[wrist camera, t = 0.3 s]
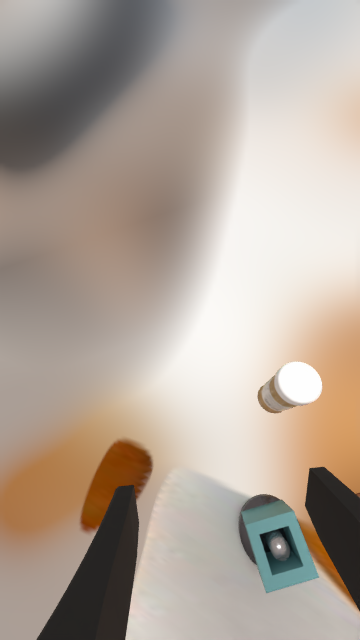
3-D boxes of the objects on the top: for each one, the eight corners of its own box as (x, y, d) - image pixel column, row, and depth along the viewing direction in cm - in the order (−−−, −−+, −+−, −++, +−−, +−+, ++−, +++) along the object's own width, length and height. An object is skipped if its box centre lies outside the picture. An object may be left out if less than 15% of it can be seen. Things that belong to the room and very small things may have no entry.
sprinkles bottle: (293, 404, 37) (333, 389, 25) (268, 419, 36) (297, 412, 24) (274, 378, 39) (303, 353, 27) (250, 392, 38) (269, 373, 26)
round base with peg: (311, 560, 29) (332, 586, 24) (252, 578, 29) (260, 607, 24) (284, 487, 32) (297, 496, 27) (230, 503, 32) (234, 515, 27)
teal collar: (302, 555, 29) (319, 577, 24) (257, 568, 29) (266, 593, 24) (281, 499, 31) (293, 510, 27) (240, 511, 31) (245, 524, 27)
